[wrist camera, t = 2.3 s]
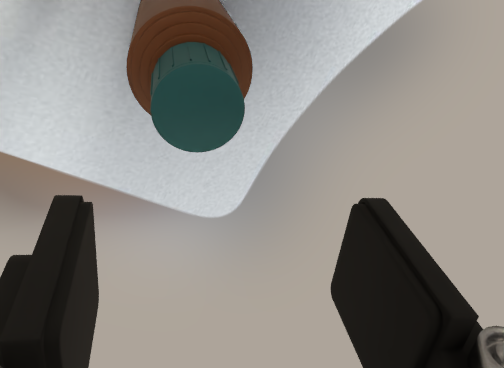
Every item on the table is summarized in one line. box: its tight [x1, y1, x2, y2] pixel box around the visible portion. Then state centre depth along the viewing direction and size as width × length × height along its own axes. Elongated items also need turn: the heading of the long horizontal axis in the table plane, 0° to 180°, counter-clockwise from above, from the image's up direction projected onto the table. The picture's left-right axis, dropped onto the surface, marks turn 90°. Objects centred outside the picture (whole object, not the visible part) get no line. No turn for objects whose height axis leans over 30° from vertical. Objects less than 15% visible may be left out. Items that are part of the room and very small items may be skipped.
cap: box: [150, 42, 245, 152], centre depth 20 cm, size 4×4×4 cm
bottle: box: [127, 0, 252, 115], centre depth 27 cm, size 6×6×18 cm
